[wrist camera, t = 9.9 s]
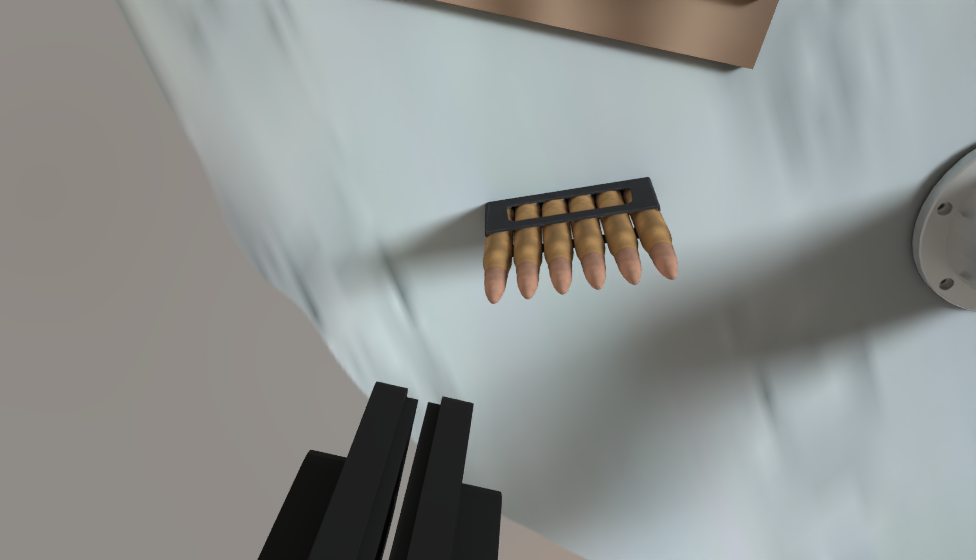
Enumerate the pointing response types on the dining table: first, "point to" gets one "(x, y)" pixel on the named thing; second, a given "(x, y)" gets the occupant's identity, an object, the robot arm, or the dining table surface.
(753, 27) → the board
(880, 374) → the dining table surface
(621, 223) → the ammunition clip
